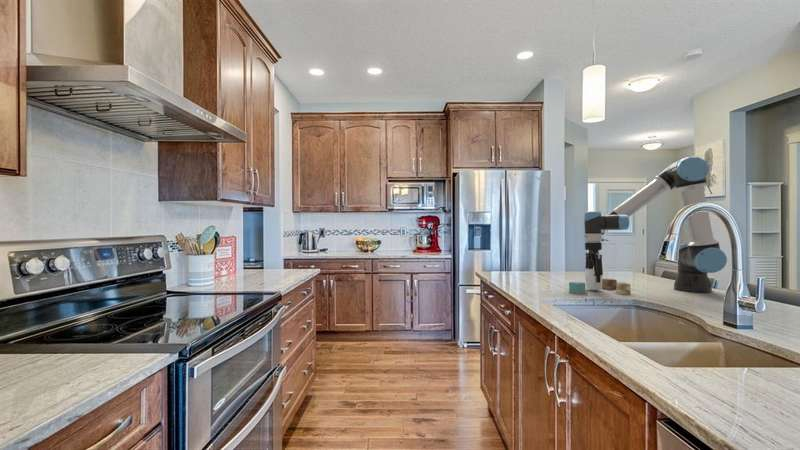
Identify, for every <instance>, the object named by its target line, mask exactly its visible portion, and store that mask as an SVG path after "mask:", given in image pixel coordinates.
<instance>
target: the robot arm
mask: <svg viewBox="0 0 800 450" xmlns="http://www.w3.org/2000/svg"><path fill="white" fill-rule="evenodd" d="M709 171H710V167H709V164H708V162H707V161H706V160H705V159H704V158H701V157H699V156H694V155H693V156H686V157H683V158H681V159H679V160H675V161H674V162H672V163H670V164H669V165H668V166H666V167H665V168H664V169H663V170H662V171H660V173H659V174H656V176H655V177H654V179H653V180H652V181H651V182H650V183H648V184H647V185H646V186H644V187H643V188H642V189H640V190H638V191H637V192H636V193H634V194H633V195H632V196H630V197H629V198H627V199H626V200H625V201H623V202H622V203H620V204H619V205H618V206H617V207H615V208H613V209H612V210H611V211H610V212H608V213H607V214H602V211H599V210H595V211H593V210H591V211H586V212H584V220H583V223H584V236H583V237H584V241H585V243H584V250H586V251H588V252H585V269H586V268H589V269H593V268H594V271H595V274H594V288H595V289H601V275H604V271H603V270H604V269H603V259H602V258H603V255H602V254H600V253H599V252H600V251H602V250H603V246H602V245H603V244H602V242H603V240H602V238H603V235H602V231H623V230H628V229H629V226H630V217H632V215H634V214H635V213H637V212H638V211H640V210H641V209H643V208H644V207H645V206H647V205H648V204H649V203H651V202H652V201H654V200H655V199H657V198H658V197H660V196H661V195H662V194H664V193H665V192H670V191H671V190H673V189H676V190H678V191H680V195H681V199H682V205H683V208H684V207H685V206H687V205H690V204H693V203H697V202H706V203H707V199H706V193H705V186H706V185H707V184H708V181H707V178H706V177H707V176H708V173H709ZM686 226H687V230H688V231H687V232H688V235H689V241H688V243H680V244H679V245H680V249H679V260H678V259H677V276H676V277H675V280H674V282H673V289H674V290H677V291H684V292H689V293H712V292H713V286H712V283H711V282H710V279H709V277H708V274H709V273H710V274H713V273H714V274H715V273H718V272H720V271H721V270H723V269H724V268H725V267H726V265H727V262H728V257H727V255H726V253H725V252H724V251H723V250H722V249H721V247H720V242H719V241H718V240H716V239H715V238H714V234H713V230H712V229H713V228H712V224H711V219H710V214H709V211H708V212H698V213H695V214H693V215H692V216H690V217H689V218H688V219H687V220H686ZM601 290H602V289H601Z"/></svg>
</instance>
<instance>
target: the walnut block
mask: <svg viewBox="0 0 800 450" xmlns="http://www.w3.org/2000/svg"><path fill="white" fill-rule="evenodd" d="M616 282H618V280H617V279H614V278H602V289H603V288H604V289H603V290H606V289H607V291H611V290H613V291H614V290H615V291H617V287H616Z"/></svg>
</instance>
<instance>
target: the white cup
mask: <svg viewBox="0 0 800 450" xmlns="http://www.w3.org/2000/svg"><path fill="white" fill-rule="evenodd" d="M584 269H585V271H584V274H585V286H586V289H587V290H593V291H602V290H603V288H602V279H604V278H603V275H604V274H603V275H601V289H595V288H594V274H595V271H594V267H593V269H589V268H586V267H585V268H584Z"/></svg>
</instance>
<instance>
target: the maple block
mask: <svg viewBox="0 0 800 450" xmlns="http://www.w3.org/2000/svg"><path fill="white" fill-rule="evenodd" d="M616 287H617V290H616V294H618V295H631V292H632V291H631V283H630V282H619V281H617V282H616Z"/></svg>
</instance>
